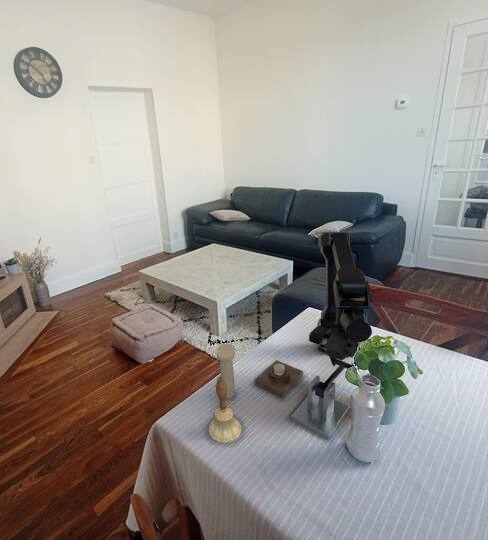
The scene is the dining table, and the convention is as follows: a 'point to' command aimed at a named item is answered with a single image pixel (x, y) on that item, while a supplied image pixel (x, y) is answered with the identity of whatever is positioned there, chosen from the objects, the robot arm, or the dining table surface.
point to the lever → (331, 377)
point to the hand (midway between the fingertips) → (343, 369)
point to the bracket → (320, 410)
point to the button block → (279, 379)
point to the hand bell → (224, 418)
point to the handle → (227, 366)
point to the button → (279, 369)
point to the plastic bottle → (366, 419)
